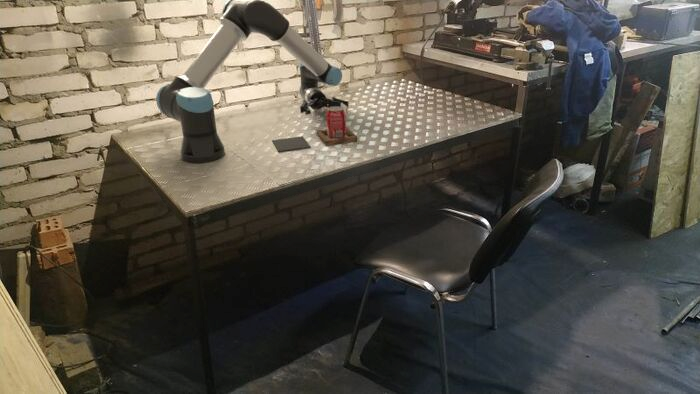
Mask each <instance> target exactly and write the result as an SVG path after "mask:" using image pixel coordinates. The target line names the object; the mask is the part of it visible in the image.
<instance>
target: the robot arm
mask: <svg viewBox="0 0 700 394" xmlns="http://www.w3.org/2000/svg"><path fill="white" fill-rule="evenodd" d="M221 12H222V16H221V17H220V19H219V22H220V26H219V27H218V28H217V30H216V31H215V32H214V34H213V35H212V36H211V38H210V39H209V41H208V42H207V43H206V45H205V46H203V48H202V49H201V51H200V52H199V54H197V56H196V58H195V59H193V62H191V64H190V65H189V67H188V68H187V69H186V70H185V72H184V73H183V74H182V75H179V76H178V75H177V76H176V77H175V78H174V79H173V80H172V82H171V83H168V84H164V85H163V86H161V87H160V88H159V90H158V91H157V93H156V106H157V108H158V110H159V111H160V112H161V113H162V114H163V115H164V116H166V117H167V118H170V119H172V120H175V121H177V122H179V123H180V126H181V132H182V142H181V148H180V156H181V159H182V161H184V162H187V163H192V164H202V163H203V164H204V163H208V162H213V161H217V160H219V159H221V158H222V157H224V156H225V154H226V150H225V146H224V144H223V142H222V140H221V138H220V136H219V134H218V131H217V124H216V123H217V121H216V117H215V110H214V109H215V108H214V107H215V106H214V100H213V95H212V94H211V92H210V90H208V89H206V87H207V86H208V84H209V82H210V81H211V80H212V79H213V77H214V76H215V74H217V72H218V71H219V70H220V68H221V66H222V65H223V64H224V63H225V61H226V60H227V59H228V57H229V56H230V54H231V53H232V52H233V50H234V49H235V48H236V46H237V45H238V44H239V42H244V41H246V40H247V39H248V38H249V36H250V35H251V34H252V33H257V34H261V35H263V36H265V37H267V38H268V39H269V40H271V42H277V43H278V45H280V46H281V47H282V48H284V49H285V50H286V51H287V52H288V53H289V54H290V55H291V56H292V57H293V58H294V59H296V60H297V61H298V62H299V72H300V73H299V74H300V75H299V76H300V86H299V89H298V90H299V95H300V96H301V98H302V99H303V101H302V102H303V103H302V104H301V105H300V108H299V109H300V111H299V112H300V114H303V113H305V115H306V116H308V115H309V116H310V117H312V118H314V119H315V110H320V109H322V108H329V107H333V106H340V107H343V110H344V112H345V115H349V114H348V113H349V112H348V108H349V101H348V100H343V99H340V98H336V97H334V96H332V97H331V98H328V97H327V96H326V95H325V93H324V92H322V91H321V90H320V89H319V83H321V84H325V85H328V86H338V85H339V84H340V83H341V81H342V80H343V72H342V70H341V69H340V68H338V67H336V66H333V65H331V64H330V63H329V62H328V61H327V60H326V59H325V58H324V57H323V56H321V54H320V53H319V52H318V51H316V49H314V48H313V47H312V46H311V45H310V44H309V42H308V41H306V40H305V39H304V37H302V36H301V35H300V34H298V32H297V31H296V30H295V29H293V27H292V26H291V25H290V21H289V20H288V19H287V17H285V16H284V15H283V14H282V13H281V12H280V11H279V10H277V9H276V8H275V6H273V5H272V4H270V3H268V2H267V1H266V0H227V1H226V2H225V4H224V5H223V7H222V11H221Z"/></svg>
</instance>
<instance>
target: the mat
mask: <svg viewBox="0 0 700 394" xmlns="http://www.w3.org/2000/svg"><path fill="white" fill-rule="evenodd" d="M271 141H272V144H273V146H274V147H275V149H276V151H277V152H278V153H283V152H292V151H298V150H305V149H306V150H307V149H311V146H310V143H308V142H307V140H306V138H304V136H294V137H285V138H280V139H272V140H271Z"/></svg>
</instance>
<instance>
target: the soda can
mask: <svg viewBox="0 0 700 394" xmlns="http://www.w3.org/2000/svg"><path fill="white" fill-rule="evenodd" d="M327 108H328V107H327ZM326 125H327V126H326V129H327V134H328V135H327V138H328V139H334V138H342V137H346V136H347V135H346V127H347V125H346V114H345V112H344V110H343V107H340V106H333V107H329V108H328V109H327V112H326Z"/></svg>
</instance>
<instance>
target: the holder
mask: <svg viewBox="0 0 700 394" xmlns="http://www.w3.org/2000/svg"><path fill="white" fill-rule="evenodd" d="M316 136H317V137H318V139H319V140H320V141H321V142H322V143H323V145H324V146H325V147H330V146H334V145H335V146H337V145H344V144H345V145H346V144H351V143H358V135H356V134H355V133H354V132H353V131H352V130H351V129H350V128H349V127H348V126H346V135H345V137H342V138H334V139H329V138H328V134H327V128H326V129H318V130H316Z"/></svg>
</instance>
